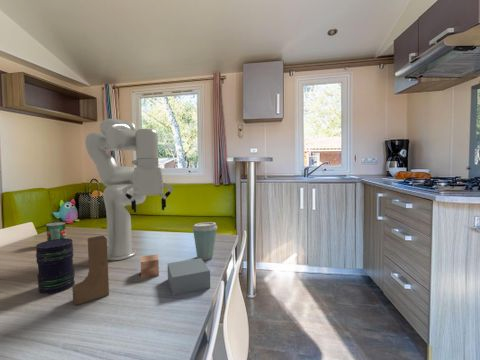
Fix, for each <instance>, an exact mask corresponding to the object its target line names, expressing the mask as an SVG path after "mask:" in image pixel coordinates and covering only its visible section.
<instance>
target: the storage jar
mask: <svg viewBox="0 0 480 360" xmlns="http://www.w3.org/2000/svg"><path fill="white" fill-rule="evenodd" d="M35 249H36V250H35V252H36V253H35V258H36V260H35V261H36V264H37V266H38V267H37V268H38V274H37V285H38V293H39V294H40V295H55V294H59V293H61V292H65V291H67V290H69V289H71V288H72V286H73V285H75V284H76V283H75V276H76V273H75V267H74V261H73V259H74V258H73V257H74V245H73V239H72V238H66V239H55V240H49V241H47V240H46V241H42V242H39V243H37V244H36V246H35Z"/></svg>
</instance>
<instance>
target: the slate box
mask: <svg viewBox="0 0 480 360" xmlns="http://www.w3.org/2000/svg"><path fill="white" fill-rule="evenodd" d="M167 280H168V286H169V287H170V290H171V291H170V292H171V296H177V295H182V294H186V293H191V292H192V293H193V292H196V291H197V292H198V291H202V290H206V289H207V290H208V289H211V270H210V269H209V267H208V266H207V264H206V263H205V260H202V259H201V258H198V257H197V258H194V259H186V260H180V261H174V262H169V263H167Z"/></svg>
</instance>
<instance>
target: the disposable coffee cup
mask: <svg viewBox="0 0 480 360" xmlns="http://www.w3.org/2000/svg"><path fill="white" fill-rule="evenodd" d="M217 229H218V225H217V223H216V222H212V221H210V222H209V221H207V222H199V223H195V224H194V225H193V226H192V232H193V238H194V244H195V252H196V257H197V259H198V258H201V259H202V260H203V261H206V260H211V259H212V258H213V256H214V251H215V243H216V235H217Z"/></svg>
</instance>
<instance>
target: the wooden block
mask: <svg viewBox="0 0 480 360" xmlns="http://www.w3.org/2000/svg"><path fill="white" fill-rule="evenodd" d="M107 246H108V238H107V237H106V236H105V235H99V236H93V237H88V238H87V250H88V251H87V252H88V253H87V254H88V256H87V257H88V273H87V276H85V278H84V280H82V281H81V282H78V283H75V284H74V285H73V286H72V287H71V288H72V289H71V290H72V300H73V303H74V305H75V306H79V305H81V304H86V303H88V302H91V301H94V300H97V299H101V298H103V297H107V296H109V295H110V283H109V260H108V256H107Z"/></svg>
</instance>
